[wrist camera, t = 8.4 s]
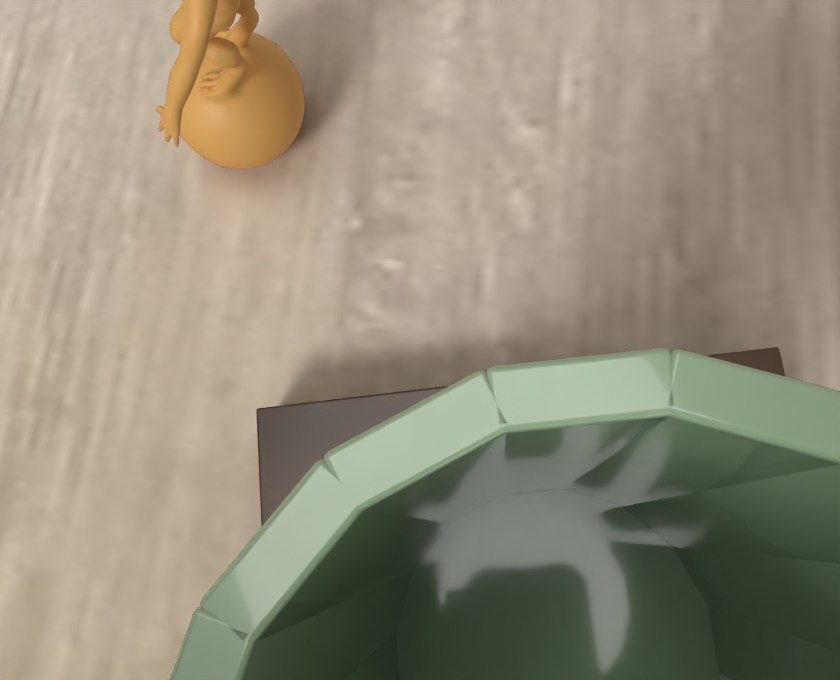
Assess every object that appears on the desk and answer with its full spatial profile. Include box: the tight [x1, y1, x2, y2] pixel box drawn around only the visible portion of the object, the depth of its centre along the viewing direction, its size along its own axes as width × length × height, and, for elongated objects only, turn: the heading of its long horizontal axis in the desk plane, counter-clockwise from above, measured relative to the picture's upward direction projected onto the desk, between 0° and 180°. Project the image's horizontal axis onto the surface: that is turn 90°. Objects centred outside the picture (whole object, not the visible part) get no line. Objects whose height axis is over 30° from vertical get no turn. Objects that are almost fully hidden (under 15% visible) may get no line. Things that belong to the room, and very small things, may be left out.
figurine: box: [155, 0, 305, 169], centre depth 18 cm, size 8×6×12 cm
